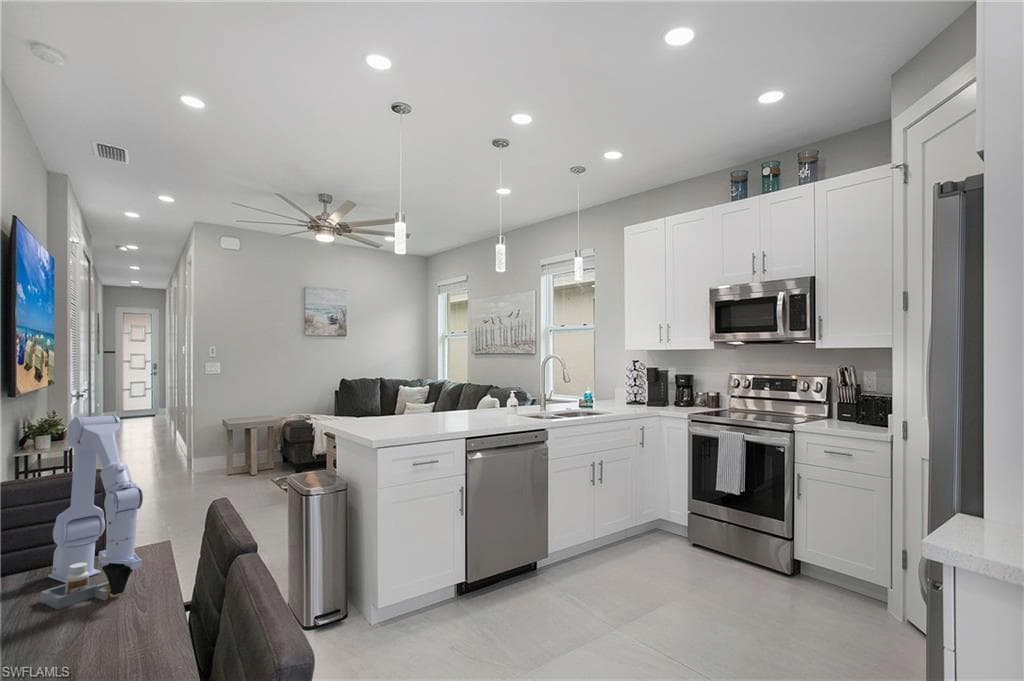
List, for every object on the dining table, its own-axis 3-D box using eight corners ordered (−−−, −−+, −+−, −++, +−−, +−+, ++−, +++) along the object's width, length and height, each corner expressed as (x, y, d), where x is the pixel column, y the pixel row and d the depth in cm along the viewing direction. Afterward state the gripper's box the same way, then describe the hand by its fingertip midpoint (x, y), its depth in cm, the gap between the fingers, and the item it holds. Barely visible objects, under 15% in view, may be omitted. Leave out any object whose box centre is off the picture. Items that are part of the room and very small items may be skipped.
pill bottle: (67, 602, 122) (70, 569, 123) (61, 597, 125) (64, 565, 125) (90, 596, 126) (92, 564, 126) (84, 591, 128) (86, 560, 129)
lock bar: (96, 593, 127) (96, 586, 127) (106, 589, 129) (107, 582, 129) (109, 598, 125) (110, 590, 125) (120, 594, 127) (121, 587, 127)
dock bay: (39, 602, 122) (40, 590, 122) (97, 583, 133) (98, 572, 133) (67, 613, 117) (68, 601, 117) (125, 593, 128) (125, 581, 128)
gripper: (86, 537, 126) (82, 593, 125) (120, 547, 120) (116, 606, 119) (117, 529, 132) (114, 582, 131) (152, 538, 126) (148, 594, 125)
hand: (117, 593), depth 125 cm, fingers closed
